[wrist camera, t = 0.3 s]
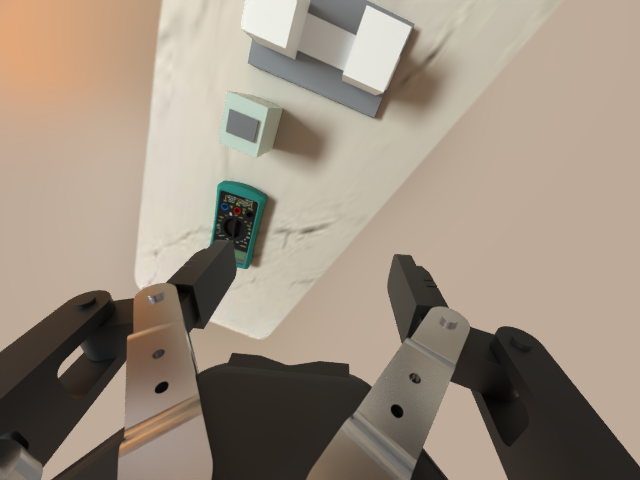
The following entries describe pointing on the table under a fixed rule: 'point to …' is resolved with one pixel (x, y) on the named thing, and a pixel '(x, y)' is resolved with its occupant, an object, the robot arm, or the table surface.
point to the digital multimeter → (238, 218)
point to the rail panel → (328, 46)
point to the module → (249, 124)
